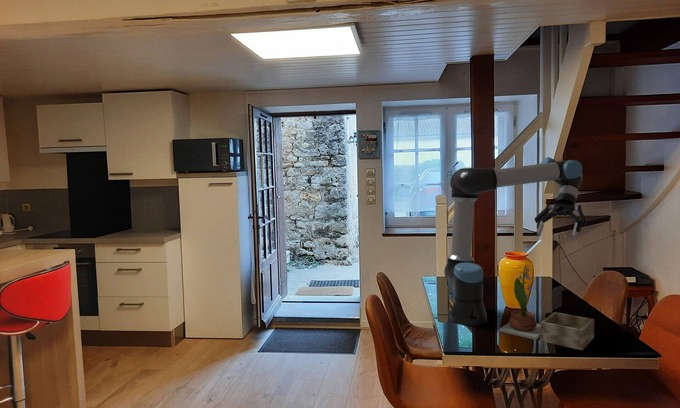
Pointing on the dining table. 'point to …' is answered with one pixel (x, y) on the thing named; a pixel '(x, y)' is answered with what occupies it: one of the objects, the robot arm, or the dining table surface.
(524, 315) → the potted flower
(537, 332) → the pad
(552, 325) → the open wooden box
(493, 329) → the dining table surface
